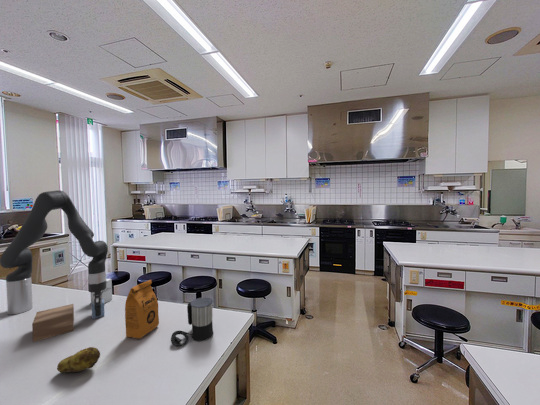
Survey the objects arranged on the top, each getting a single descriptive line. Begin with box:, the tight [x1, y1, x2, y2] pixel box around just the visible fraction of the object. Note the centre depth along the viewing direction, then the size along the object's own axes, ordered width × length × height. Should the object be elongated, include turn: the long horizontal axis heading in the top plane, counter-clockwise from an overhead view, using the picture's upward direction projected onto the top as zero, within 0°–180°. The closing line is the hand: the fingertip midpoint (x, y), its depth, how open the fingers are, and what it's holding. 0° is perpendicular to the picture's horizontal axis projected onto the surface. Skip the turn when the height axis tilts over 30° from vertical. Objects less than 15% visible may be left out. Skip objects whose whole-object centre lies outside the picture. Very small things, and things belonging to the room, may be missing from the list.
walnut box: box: [31, 303, 75, 343], centre depth 108 cm, size 13×13×8 cm
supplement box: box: [90, 278, 113, 305], centre depth 136 cm, size 7×7×13 cm
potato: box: [56, 346, 101, 374], centre depth 82 cm, size 8×13×8 cm, turn 71°
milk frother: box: [170, 296, 214, 348], centre depth 100 cm, size 14×16×15 cm
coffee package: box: [124, 279, 160, 339], centre depth 105 cm, size 10×12×22 cm
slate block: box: [91, 299, 105, 320], centre depth 121 cm, size 5×5×7 cm
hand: (98, 313), depth 121 cm, fingers closed on slate block, 5 cm apart
